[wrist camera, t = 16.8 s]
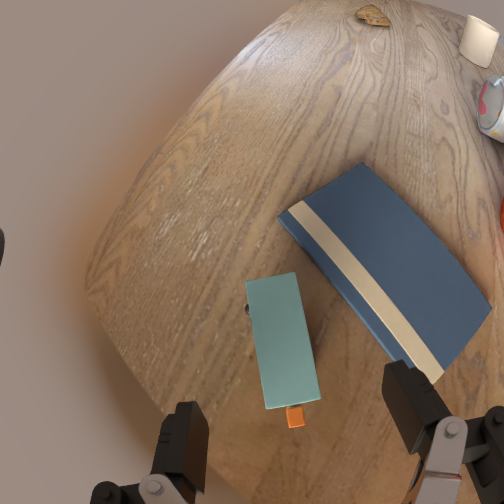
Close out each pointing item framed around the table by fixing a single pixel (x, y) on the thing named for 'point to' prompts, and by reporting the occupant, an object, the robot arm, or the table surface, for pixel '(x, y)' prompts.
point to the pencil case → (491, 107)
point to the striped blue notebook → (389, 269)
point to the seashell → (373, 16)
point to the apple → (502, 215)
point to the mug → (478, 41)
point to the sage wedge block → (282, 344)
